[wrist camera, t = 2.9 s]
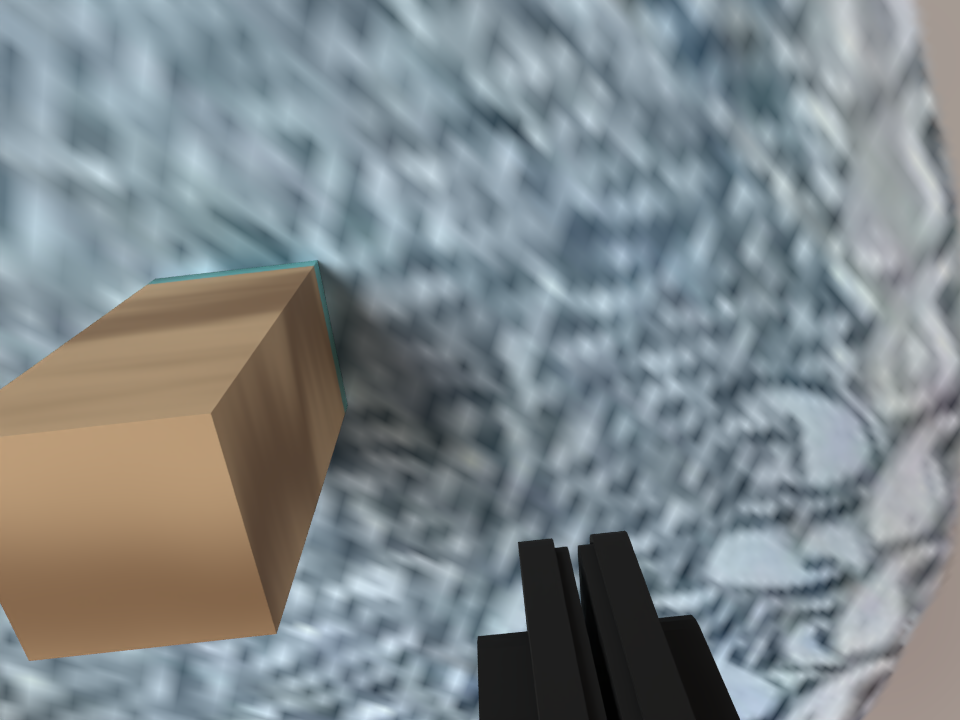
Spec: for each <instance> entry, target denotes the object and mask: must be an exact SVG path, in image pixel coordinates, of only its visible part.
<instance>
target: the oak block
mask: <svg viewBox="0 0 960 720" xmlns="http://www.w3.org/2000/svg"><path fill="white" fill-rule="evenodd" d="M347 406H348V405H347V401H346V396H345V391H344V386H343V381H342V376H341V371H340V367H339V362H338V357H337V352H336V347H335V342H334V338H333V333H332V328H331V323H330V318H329V313H328V309H327V304H326V299H325V294H324V289H323V284H322V280H321V275H320V270H319V265H318V260H317V261H308V262H299V263H290V264H282V265H273V266H264V267H255V268H247V269H238V270H229V271H220V272H212V273H203V274H194V275H185V276H177V277H168V278H159V279H155V280H153V281H152V282H150V283H149V284H148V285H146V286H145V287H143V288H142V289H141V290H139V291H138V292H136V293H135V294H134V295H132V296H131V297H129V298H128V299H127V300H125V301H124V302H122V303H121V304H120V305H118V306H117V307H115V308H114V309H113V310H111V311H110V312H108V313H107V314H106V315H104V316H103V317H101V318H100V319H99V320H97V321H96V322H94V323H93V324H92V325H90V326H89V327H87V328H86V329H85V330H83V331H82V332H80V333H79V334H78V335H76V336H75V337H73V338H72V339H71V340H69V341H68V342H66V343H65V344H64V345H62V346H61V347H59V348H58V349H57V350H55V351H54V352H52V353H51V354H50V355H48V356H47V357H45V358H44V359H43V360H41V361H40V362H38V363H37V364H36V365H34V366H33V367H31V368H30V369H29V370H27V371H26V372H24V373H23V374H22V375H20V376H19V377H17V378H16V379H15V380H13V381H12V382H10V383H9V384H8V385H6V386H5V387H3V388H2V389H1V390H0V603H1V605H2V607H3V609H4V611H5V613H6V615H7V617H8V619H9V621H10V623H11V625H12V627H13V629H14V631H15V633H16V635H17V637H18V639H19V641H20V643H21V645H22V647H23V649H24V651H25V653H26V655H27V657H28V659H29V661H33V660H42V659H51V658H60V657H69V656H78V655H88V654H97V653H106V652H115V651H124V650H133V649H143V648H152V647H161V646H170V645H179V644H188V643H198V642H207V641H216V640H225V639H234V638H243V637H252V636H262V635H271V634H277V631H278V627H279V624H280V621H281V618H282V615H283V611H284V608H285V605H286V602H287V598H288V595H289V592H290V589H291V586H292V582H293V579H294V576H295V573H296V570H297V566H298V563H299V560H300V557H301V554H302V550H303V547H304V544H305V541H306V537H307V534H308V531H309V528H310V525H311V521H312V518H313V515H314V512H315V509H316V505H317V502H318V499H319V496H320V492H321V489H322V486H323V483H324V480H325V476H326V473H327V470H328V467H329V464H330V460H331V457H332V454H333V451H334V448H335V444H336V441H337V438H338V435H339V431H340V428H341V425H342V422H343V419H344V415H345V412H346V409H347Z"/></svg>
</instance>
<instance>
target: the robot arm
mask: <svg viewBox="0 0 960 720" xmlns="http://www.w3.org/2000/svg"><path fill="white" fill-rule="evenodd" d="M518 547H519V557H520V566H521V576H522V585H523V595H524V604H525V614H526V624H527V631H526V632H516V633H506V634H496V635H486V636H478V640H477V650H478V687H479V720H740V718H739V716H738V714H737V711H736V709H735V707H734V704H733V702H732V700H731V698H730V695H729V693H728V691H727V688H726V686H725V684H724V681H723V679H722V677H721V675H720V672H719V670H718V668H717V665H716V663H715V661H714V659H713V656H712V654H711V652H710V649H709V647H708V645H707V643H706V640H705V638H704V636H703V633H702V631H701V629H700V627H699V625H698V623H697V621H696V619H695V618H694V617H693V616H692V615H684V616H674V617H664V618H658V615H657V613H656V610H655V607H654V604H653V602H652V599H651V596H650V594H649V591H648V588H647V585H646V583H645V580H644V577H643V574H642V572H641V569H640V566H639V564H638V561H637V558H636V555H635V553H634V550H633V547H632V544H631V542H630V539H629V536H628V534H627V532H626V531H620V532H610V533H600V534H591V535H590V544H588V545H578V562H579V577H580V593H581V603H580V599H579V594H578V590H577V586H576V581H575V577H574V572H573V568H572V564H571V559H570V555H569V550H568V547H559V548H555V547H554V543H553V539H542V540H533V541H523V542H518Z"/></svg>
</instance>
